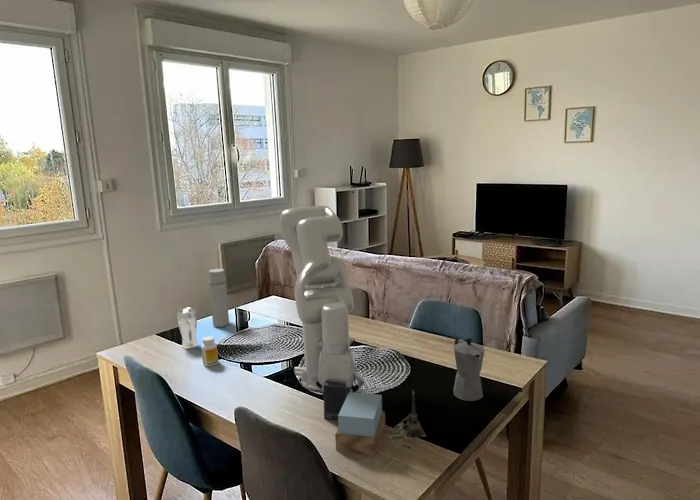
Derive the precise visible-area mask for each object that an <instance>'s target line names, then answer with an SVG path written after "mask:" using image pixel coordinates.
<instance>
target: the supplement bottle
mask: <svg viewBox="0 0 700 500" xmlns="http://www.w3.org/2000/svg"><path fill="white" fill-rule="evenodd" d="M202 343H203V344H202V345H201V347H200V348H201V358H202V364H203V366H205V367H213V366H216V365H218V363H219V354H218V352H219V351H218V345H217V343H216V342H215V337H214V336H210V335H209V336H205V337H203V338H202Z"/></svg>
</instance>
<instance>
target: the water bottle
mask: <svg viewBox="0 0 700 500" xmlns="http://www.w3.org/2000/svg"><path fill="white" fill-rule="evenodd" d="M227 281H228V280H227V279H226V274H225V269H223V268H214V269H209V271H208V281H207V282H208V286H209V296H210V304H211V305H210V307H211V308H210V309H211V317H212V325H213V327H215V328H224V327H226V326H228V325H229V324H230V317H229V307H228V296H227V295H228V294H227V284H226V282H227Z"/></svg>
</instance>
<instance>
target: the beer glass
mask: <svg viewBox="0 0 700 500" xmlns="http://www.w3.org/2000/svg"><path fill="white" fill-rule="evenodd" d="M197 321H198V320H197V313H196V309H195V308H194V307H183V308H180V309H178V310H177V323H178V329H179V331H180V335H181V340H182V341H181V342H182V343H181V348H182V349H185V350H192V349H195V348H197V347H198V346H199V343H198V339H197V328H198V327H197V324H198V323H197Z"/></svg>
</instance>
